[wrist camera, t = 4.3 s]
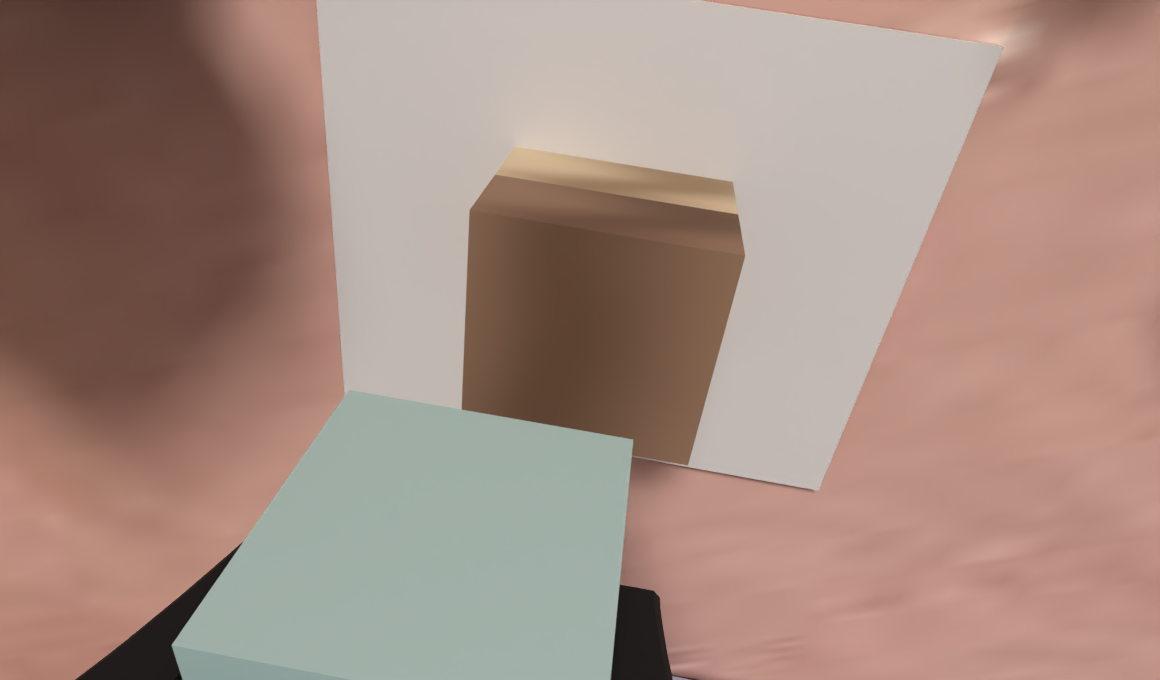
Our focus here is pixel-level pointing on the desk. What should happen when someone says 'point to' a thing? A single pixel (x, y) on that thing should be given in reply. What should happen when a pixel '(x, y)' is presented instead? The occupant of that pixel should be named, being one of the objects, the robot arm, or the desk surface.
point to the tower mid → (597, 311)
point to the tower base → (620, 179)
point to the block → (425, 555)
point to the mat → (658, 141)
